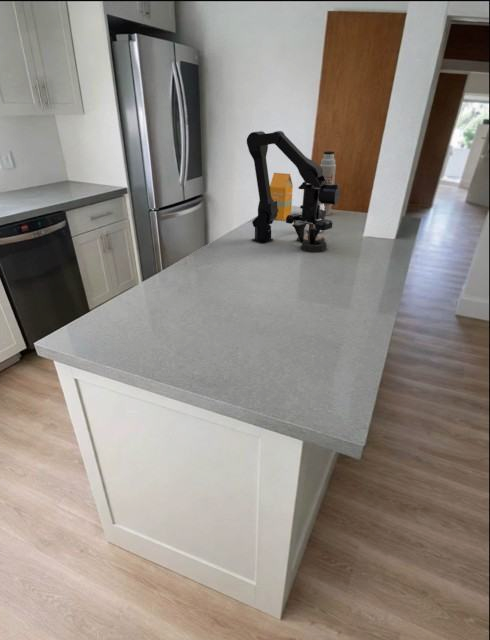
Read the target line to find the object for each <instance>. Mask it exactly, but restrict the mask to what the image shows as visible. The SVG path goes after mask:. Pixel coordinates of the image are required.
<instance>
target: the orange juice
mask: <svg viewBox="0 0 490 640" xmlns="http://www.w3.org/2000/svg"><path fill="white" fill-rule="evenodd" d="M269 184H270V191H271V197H272V199H273V201H274V202H275V201H277V208H278V210H279V211H278V212H277V217H276V218H275V219H274V220H277V221H286V217H287V216H288V215H290V214H292V203H293V188H294V185H293V180H292V177H291V174H290V173H283V172H273V175H272V177H271V181H270V183H269Z"/></svg>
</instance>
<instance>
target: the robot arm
mask: <svg viewBox="0 0 490 640" xmlns="http://www.w3.org/2000/svg"><path fill="white" fill-rule="evenodd" d="M246 145H247V148H248V153H249V154H250V156H251V158H252V160H253V163H254V164H253V165H254V171H255V177H256V184H257V192H258V197H259V198H258V199H259V201H258V204H257V216H256V217H255V218H254V219H253V220H252V221H251V224H252V226H253V228H254V238H251V241H252V242H256V243H260V244H266V243H268V242H272V241H274V238H272V225H271V224H273V223H274V220H276V219H275V218H276V217H277V212H278V211H279V210H278V208H277V201H275V202H274V201H273V199H272V197H271V191H270V184H271V183H270V178H269V170H268V162H267V154H268V149H269V145H275V146H276V147H277V148H278V149H279V150H280V151H281V152H282V154H284V155H285V157H286V158H288V160H289V161H291V163H292V164H293V165H294V166H295V167H296V169H297V171H298V173H299V175H300V177H301V178H302V180H303V181H302V183H301V184H300V185H299V186H298V188H297V189H298V190H303V193H302V204H301V205H300V207H299V208H300V209H301V214H300V213H296V212H295V213H291V214H290V215H288V216H287V217H286V220H285V223H286V224H290V225H291V224H292V225H291V226H292V227H293V228H294V231H295V232H296V235H297V238H299V240H300V241H299V243H300V244H302V242H303V239H304V235H305V229H306V226H307V225H308V224H310V225H313V228H311V229H310V244H311V245H313V243H314V241H315V239H316V237H317V236H319V234H320V233H321V232H322V231H323V232H324V231H327V230H330V229H333V225H334V224H333V221H332V220H331V219H326V216H327V215H326V211H324V210H321V209H320V205H318V199H319V201H320V202H321V203H322V204H332V206H333V205H334V206H337V204H339V200H340V194H341V192H340V184H339V183H334V184H327V181H326V180H325V178H324V176H323V169H322V167H321V166H320V164H319V163H317V162H316V161H314V160H312V159H310V158H308V157H307V156H306V155H305V154H303V152H302V151H301V150H300V149H299V148H298V147H297V146H296V145H295V143H293V142H292V141H291V140H290V139H289V138H288V137H287V135H286V134H285V132H283V131H282V130H276V131H274V132H269V133H265V132H264V131H262V130H259V131H252V132H250V133H249V134H248V135H247V137H246ZM317 219H322V220H319V221H317ZM320 230H322V231H321V232H320ZM319 232H320V233H319Z"/></svg>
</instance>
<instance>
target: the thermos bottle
mask: <svg viewBox="0 0 490 640" xmlns="http://www.w3.org/2000/svg"><path fill="white" fill-rule="evenodd" d="M319 165H320V166H321V167H322V169H323V176H324V178H325V180H326V181H327V184H335V179H336V170H337V164H336V158H335V151H330V150H329V151H323V157H322V158H321V161H320V164H319ZM318 201H319V199H318ZM324 206H325V208H324V211H326V215H325V216H330V215H331V214H332V206H333V204H324Z"/></svg>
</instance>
